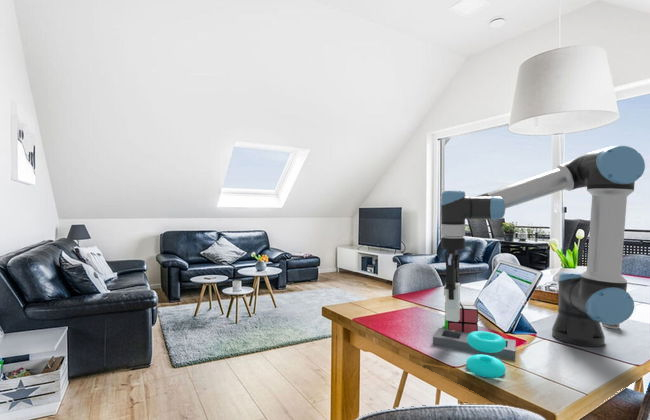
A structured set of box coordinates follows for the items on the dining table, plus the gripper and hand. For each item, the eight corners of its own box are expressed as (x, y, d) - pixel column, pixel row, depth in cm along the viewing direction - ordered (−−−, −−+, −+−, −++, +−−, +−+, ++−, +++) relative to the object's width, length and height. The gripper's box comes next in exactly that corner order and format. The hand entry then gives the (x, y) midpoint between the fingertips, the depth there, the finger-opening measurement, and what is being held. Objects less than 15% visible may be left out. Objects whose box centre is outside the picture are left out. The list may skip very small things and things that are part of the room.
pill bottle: (598, 323, 145) (599, 299, 145) (614, 324, 144) (614, 300, 144) (606, 328, 140) (606, 302, 139) (622, 329, 138) (623, 303, 138)
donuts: (495, 329, 107) (513, 342, 97) (494, 363, 107) (512, 380, 97) (461, 329, 107) (475, 342, 97) (460, 363, 107) (475, 379, 97)
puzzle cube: (477, 338, 128) (478, 309, 128) (447, 335, 130) (448, 307, 130) (472, 328, 138) (472, 302, 138) (444, 326, 140) (444, 300, 140)
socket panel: (515, 349, 118) (515, 339, 118) (515, 361, 109) (515, 350, 109) (438, 336, 129) (438, 327, 129) (432, 345, 120) (432, 336, 120)
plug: (459, 318, 123) (459, 271, 123) (458, 322, 120) (458, 273, 119) (445, 316, 125) (445, 270, 125) (443, 320, 122) (443, 272, 122)
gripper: (445, 234, 131) (445, 299, 131) (436, 238, 116) (436, 312, 116) (468, 235, 128) (468, 302, 128) (461, 239, 113) (460, 315, 113)
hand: (452, 307), depth 122 cm, fingers closed on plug, 4 cm apart
